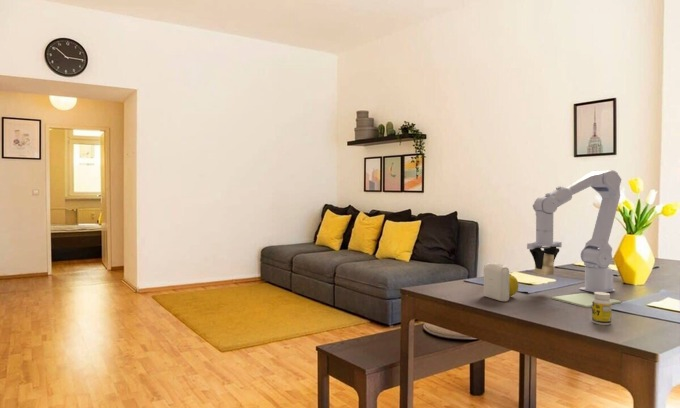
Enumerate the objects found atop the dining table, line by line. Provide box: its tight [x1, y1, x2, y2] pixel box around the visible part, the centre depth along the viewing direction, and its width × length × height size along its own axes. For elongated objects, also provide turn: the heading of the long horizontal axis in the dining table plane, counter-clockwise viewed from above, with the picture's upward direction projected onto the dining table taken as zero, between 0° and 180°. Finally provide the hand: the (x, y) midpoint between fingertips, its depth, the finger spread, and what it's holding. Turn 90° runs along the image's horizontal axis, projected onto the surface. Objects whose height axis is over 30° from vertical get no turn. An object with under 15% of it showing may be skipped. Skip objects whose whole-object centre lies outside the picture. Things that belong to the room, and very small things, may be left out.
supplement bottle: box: [591, 292, 612, 326], centre depth 139 cm, size 5×5×8 cm
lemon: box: [509, 273, 519, 298], centre depth 172 cm, size 6×6×8 cm
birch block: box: [534, 253, 555, 276], centre depth 178 cm, size 4×4×7 cm
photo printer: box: [483, 261, 510, 302], centre depth 170 cm, size 10×4×12 cm, turn 20°
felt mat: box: [551, 292, 622, 309], centre depth 166 cm, size 16×14×1 cm
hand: (544, 268), depth 178 cm, fingers closed on birch block, 4 cm apart
